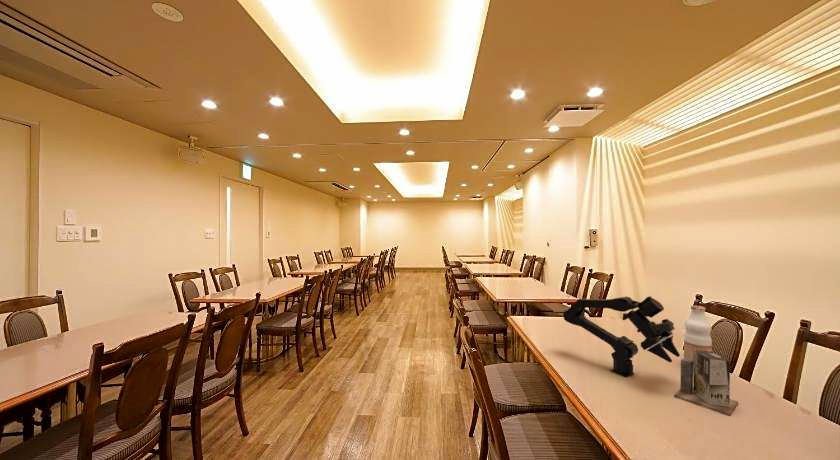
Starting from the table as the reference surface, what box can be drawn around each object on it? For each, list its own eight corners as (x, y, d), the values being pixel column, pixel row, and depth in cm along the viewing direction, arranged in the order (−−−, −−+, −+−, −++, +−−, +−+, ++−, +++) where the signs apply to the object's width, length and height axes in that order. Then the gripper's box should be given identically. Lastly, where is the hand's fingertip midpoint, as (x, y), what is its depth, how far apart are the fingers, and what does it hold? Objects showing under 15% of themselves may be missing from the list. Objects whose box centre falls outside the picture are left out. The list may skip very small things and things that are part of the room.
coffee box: (730, 407, 110) (731, 360, 110) (709, 405, 111) (709, 359, 111) (712, 394, 119) (712, 351, 119) (692, 392, 120) (692, 349, 120)
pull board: (674, 396, 118) (674, 362, 118) (685, 386, 126) (685, 354, 126) (730, 416, 106) (730, 377, 106) (738, 403, 114) (738, 368, 114)
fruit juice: (679, 366, 145) (680, 305, 145) (690, 363, 149) (690, 303, 149) (705, 375, 137) (705, 310, 137) (715, 371, 141) (716, 308, 141)
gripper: (650, 316, 122) (686, 354, 113) (667, 309, 133) (701, 343, 125) (627, 331, 129) (659, 368, 120) (645, 323, 140) (675, 357, 131)
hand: (675, 359), depth 124 cm, fingers open, 9 cm apart
